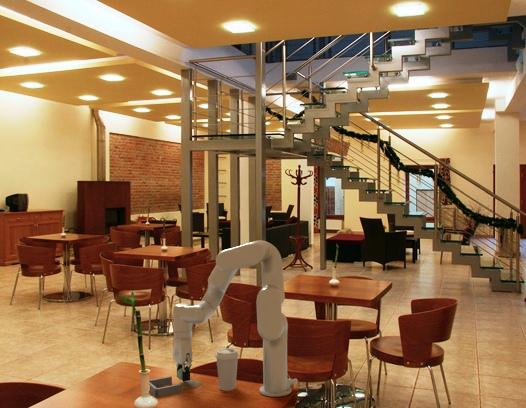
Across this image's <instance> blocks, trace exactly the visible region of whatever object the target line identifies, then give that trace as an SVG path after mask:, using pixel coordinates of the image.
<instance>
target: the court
mask: <svg viewBox="0 0 526 408" xmlns="http://www.w3.org/2000/svg"><path fill="white" fill-rule="evenodd" d="M148 380H149V385H150V392H149V393H150V394H151V395H152V396H154V397H155V398H160V397H165V396H169V395H174V394H179V393H183V389H182V384H180V383H178V384H174V385H173V377H172V376H170V375H169V376H165V377H159V378H154V379H153V378H152V379H148ZM164 385H167V387H165V386H164Z"/></svg>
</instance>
